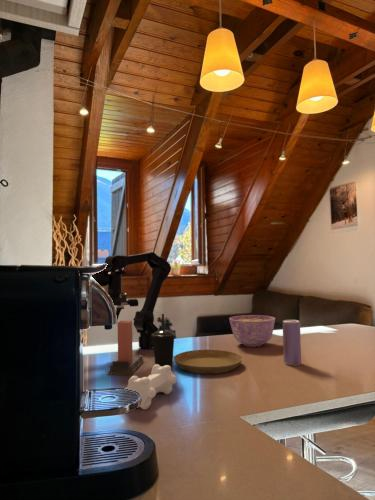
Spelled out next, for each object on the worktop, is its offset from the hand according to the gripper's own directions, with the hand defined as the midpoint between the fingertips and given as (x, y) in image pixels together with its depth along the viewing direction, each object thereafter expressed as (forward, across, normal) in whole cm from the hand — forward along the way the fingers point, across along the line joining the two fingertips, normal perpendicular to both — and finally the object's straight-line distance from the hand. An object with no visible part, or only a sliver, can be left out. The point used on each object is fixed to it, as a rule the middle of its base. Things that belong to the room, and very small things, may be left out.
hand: (115, 324), depth 152 cm
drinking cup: (+12, +14, -36) cm, 40 cm away
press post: (+11, +2, -23) cm, 26 cm away
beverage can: (+12, +60, -35) cm, 71 cm away
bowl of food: (+12, +59, -2) cm, 60 cm away
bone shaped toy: (+12, +7, -55) cm, 57 cm away
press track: (+12, +3, -22) cm, 25 cm away
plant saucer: (+12, +31, -28) cm, 44 cm away
